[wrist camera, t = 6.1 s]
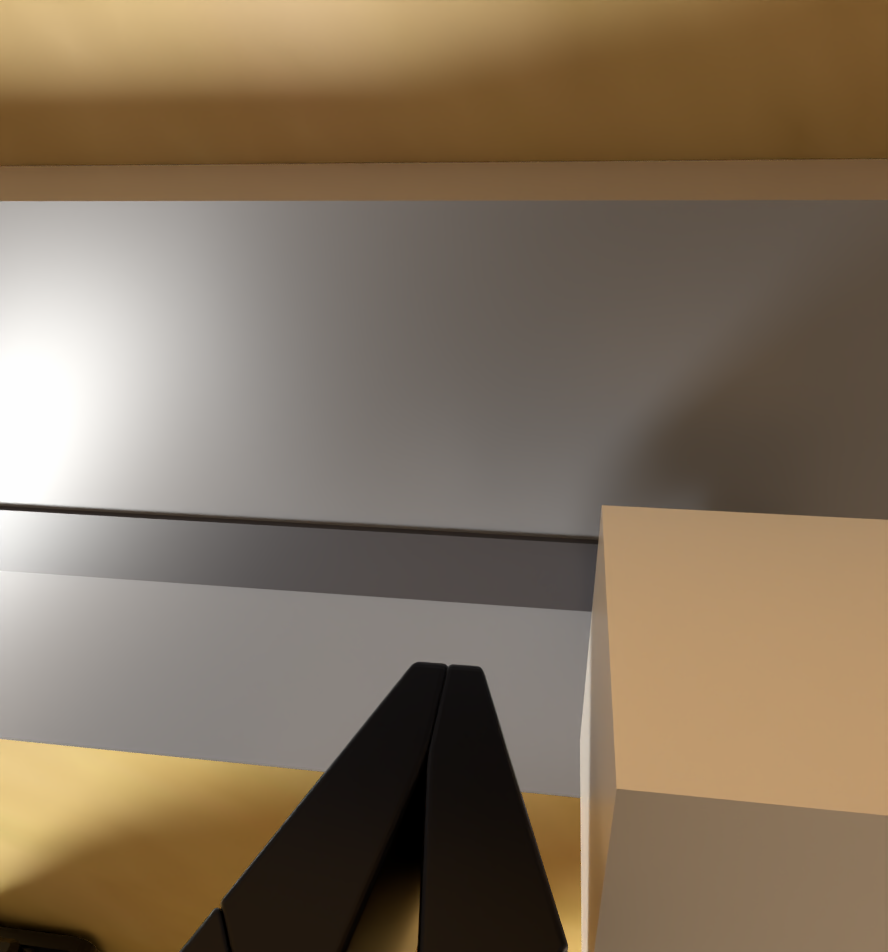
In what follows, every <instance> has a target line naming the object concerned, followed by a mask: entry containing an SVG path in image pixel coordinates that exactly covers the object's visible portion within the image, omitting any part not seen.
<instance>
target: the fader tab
mask: <svg viewBox="0 0 888 952" xmlns="http://www.w3.org/2000/svg"><path fill="white" fill-rule="evenodd" d="M580 809H581V932H582V952H888V520H882V519H862V518H842V517H823V516H803V515H784V514H764V513H744V512H725V511H705V510H686V509H666V508H646V507H627V506H607V505H602V508H601V519H600V530H599V541H598V551H597V562H596V573H595V584H594V595H593V605H592V616H591V627H590V638H589V648H588V659H587V670H586V681H585V691H584V702H583V713H582V724H581V735H580Z"/></svg>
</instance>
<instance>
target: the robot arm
mask: <svg viewBox="0 0 888 952" xmlns="http://www.w3.org/2000/svg"><path fill="white" fill-rule="evenodd" d="M220 905H221V909H220V908H215V909H214V910H213V911H212V912H211V913H210V914H209V916H208V917H207V918H206V919H205V921H204V922H203V923H202V924H201V926H200V927H199V928H198V929H197V931H196V932H195V933H194V934H193V936H192V937H191V938H190V939H189V941H188V942H187V943H186V944H185V945H184V947H183V948H182V949H181V950H180V951H179V952H416V949H417V952H567V950H568V944H567V940H566V937H565V934H564V931H563V927H562V924H561V921H560V918H559V914H558V911H557V908H556V905H555V901H554V898H553V895H552V892H551V888H550V885H549V882H548V878H547V875H546V872H545V869H544V865H543V862H542V859H541V856H540V852H539V849H538V846H537V843H536V839H535V836H534V833H533V830H532V826H531V823H530V820H529V817H528V813H527V810H526V807H525V804H524V800H523V797H522V794H521V790H520V787H519V784H518V781H517V777H516V774H515V771H514V768H513V764H512V761H511V758H510V755H509V751H508V748H507V745H506V742H505V738H504V735H503V732H502V729H501V725H500V722H499V719H498V716H497V712H496V709H495V706H494V702H493V699H492V696H491V693H490V689H489V686H488V683H487V680H486V676H485V673H484V671H483V669H482V668H481V667H479V666H471V665H458V664H451V665H449V666H447V665H446V664H444V663H431V662H416V663H413V664H412V665H411V666H410V667H409V668H408V670H407V671H406V672H405V673H404V675H403V676H402V677H401V678H400V680H399V681H398V682H397V683H396V685H395V686H394V687H393V688H392V690H391V691H390V692H389V693H388V694H387V696H386V697H385V698H384V699H383V701H382V702H381V703H380V704H379V706H378V707H377V708H376V709H375V711H374V712H373V713H372V714H371V716H370V717H369V718H368V719H367V721H366V722H365V723H364V724H363V725H362V727H361V728H360V729H359V730H358V732H357V733H356V734H355V735H354V737H353V738H352V739H351V740H350V742H349V743H348V744H347V745H346V747H345V748H344V749H343V750H342V751H341V753H340V754H339V755H338V756H337V758H336V759H335V760H334V761H333V763H332V764H331V765H330V766H329V768H328V769H327V770H326V771H325V773H324V774H323V775H322V776H321V778H320V779H319V780H318V781H317V782H316V784H315V785H314V786H313V787H312V789H311V790H310V791H309V792H308V794H307V795H306V796H305V797H304V799H303V800H302V801H301V802H300V804H299V805H298V806H297V807H296V808H295V810H294V811H293V812H292V813H291V815H290V816H289V817H288V818H287V820H286V821H285V822H284V823H283V825H282V826H281V827H280V828H279V830H278V831H277V832H276V833H275V835H274V836H273V837H272V838H271V839H270V841H269V842H268V843H267V844H266V846H265V847H264V848H263V849H262V851H261V852H260V853H259V854H258V856H257V857H256V858H255V859H254V861H253V862H252V863H251V864H250V866H249V867H248V868H247V869H246V870H245V872H244V873H243V874H242V875H241V877H240V878H239V879H238V880H237V882H236V883H235V884H234V885H233V887H232V888H231V889H230V890H229V892H228V893H227V894H226V895H225V896H224V898H223V899H222V900H221V903H220ZM417 945H418V946H417ZM0 952H98V950H97V948H96V947H95V946H94V944H92V943H91V942H89V941H87V940H85V939H83V938H78V937H73V936H65V935H58V934H51V933H44V932H36V931H29V930H22V929H15V928H7V927H0Z"/></svg>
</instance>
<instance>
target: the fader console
mask: <svg viewBox="0 0 888 952" xmlns="http://www.w3.org/2000/svg"><path fill="white" fill-rule="evenodd" d="M602 505H607V506H627V507H646V508H666V509H686V510H705V511H725V512H744V513H764V514H784V515H803V516H823V517H842V518H862V519H882V520H888V159H796V160H674V161H553V162H431V163H310V164H188V165H67V166H0V739H7V740H16V741H26V742H36V743H46V744H56V745H66V746H75V747H85V748H95V749H105V750H115V751H125V752H134V753H144V754H154V755H164V756H174V757H183V758H193V759H203V760H213V761H223V762H233V763H242V764H252V765H262V766H272V767H282V768H291V769H301V770H311V771H321V772H325V771H326V770H327V769H328V768H329V766H330V765H331V764H332V763H333V761H334V760H335V759H336V758H337V756H338V755H339V754H340V753H341V751H342V750H343V749H344V748H345V747H346V745H347V744H348V743H349V742H350V740H351V739H352V738H353V737H354V735H355V734H356V733H357V732H358V730H359V729H360V728H361V727H362V725H363V724H364V723H365V722H366V721H367V719H368V718H369V717H370V716H371V714H372V713H373V712H374V711H375V709H376V708H377V707H378V706H379V704H380V703H381V702H382V701H383V699H384V698H385V697H386V696H387V694H388V693H389V692H390V691H391V690H392V688H393V687H394V686H395V685H396V683H397V682H398V681H399V680H400V678H401V677H402V676H403V675H404V673H405V672H406V671H407V670H408V668H409V667H410V666H411V665H412V664H413V663H416V662H431V663H444V664H446V665H447V666H449V665H451V664H458V665H471V666H479V667H481V668H482V669H483V671H484V673H485V676H486V680H487V683H488V686H489V689H490V693H491V696H492V699H493V702H494V706H495V709H496V712H497V716H498V719H499V722H500V725H501V729H502V732H503V735H504V738H505V742H506V745H507V748H508V751H509V755H510V758H511V761H512V764H513V768H514V771H515V774H516V777H517V781H518V784H519V787H520V790H521V792H527V793H537V794H547V795H557V796H567V797H576V798H580V735H581V724H582V713H583V702H584V691H585V681H586V670H587V659H588V648H589V638H590V627H591V616H592V605H593V595H594V584H595V573H596V562H597V551H598V541H599V530H600V519H601V508H602Z"/></svg>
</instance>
